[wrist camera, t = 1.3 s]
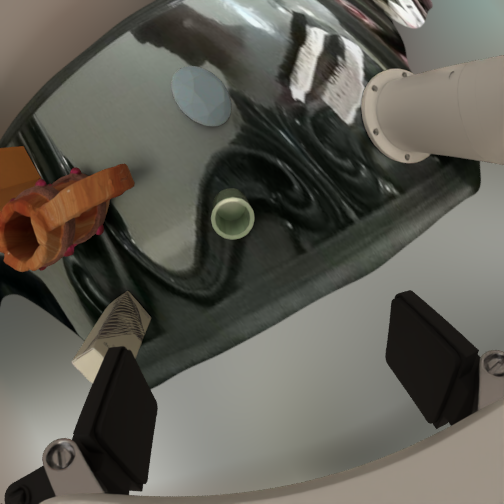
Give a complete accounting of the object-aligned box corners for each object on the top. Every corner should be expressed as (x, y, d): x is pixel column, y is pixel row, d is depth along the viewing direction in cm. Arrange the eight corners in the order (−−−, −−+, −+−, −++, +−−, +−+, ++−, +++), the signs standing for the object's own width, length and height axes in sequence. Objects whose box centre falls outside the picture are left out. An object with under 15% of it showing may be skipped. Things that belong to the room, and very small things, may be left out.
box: (152, 317, 38) (131, 383, 25) (130, 331, 38) (105, 396, 26) (126, 287, 36) (92, 347, 24) (105, 303, 36) (69, 363, 24)
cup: (236, 181, 33) (239, 189, 27) (254, 210, 34) (262, 224, 28) (206, 200, 33) (202, 212, 27) (225, 229, 35) (226, 247, 29)
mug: (70, 246, 33) (6, 301, 19) (46, 190, 30) (-32, 219, 16) (167, 200, 33) (130, 239, 19) (141, 136, 30) (85, 129, 16)
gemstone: (166, 148, 28) (194, 127, 24) (142, 88, 26) (166, 60, 23) (218, 135, 33) (248, 117, 29) (195, 82, 31) (221, 60, 28)
